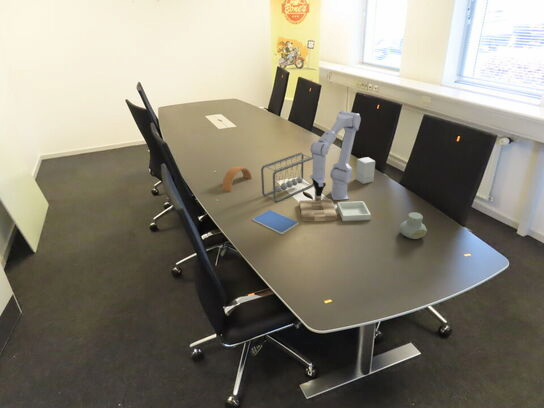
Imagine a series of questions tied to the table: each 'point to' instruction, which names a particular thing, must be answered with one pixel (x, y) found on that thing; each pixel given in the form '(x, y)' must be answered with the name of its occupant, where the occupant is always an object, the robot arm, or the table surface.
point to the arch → (231, 174)
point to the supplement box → (365, 170)
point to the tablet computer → (275, 221)
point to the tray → (353, 211)
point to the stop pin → (317, 197)
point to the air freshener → (413, 226)
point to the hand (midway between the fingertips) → (318, 193)
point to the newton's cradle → (288, 183)
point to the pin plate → (317, 215)
